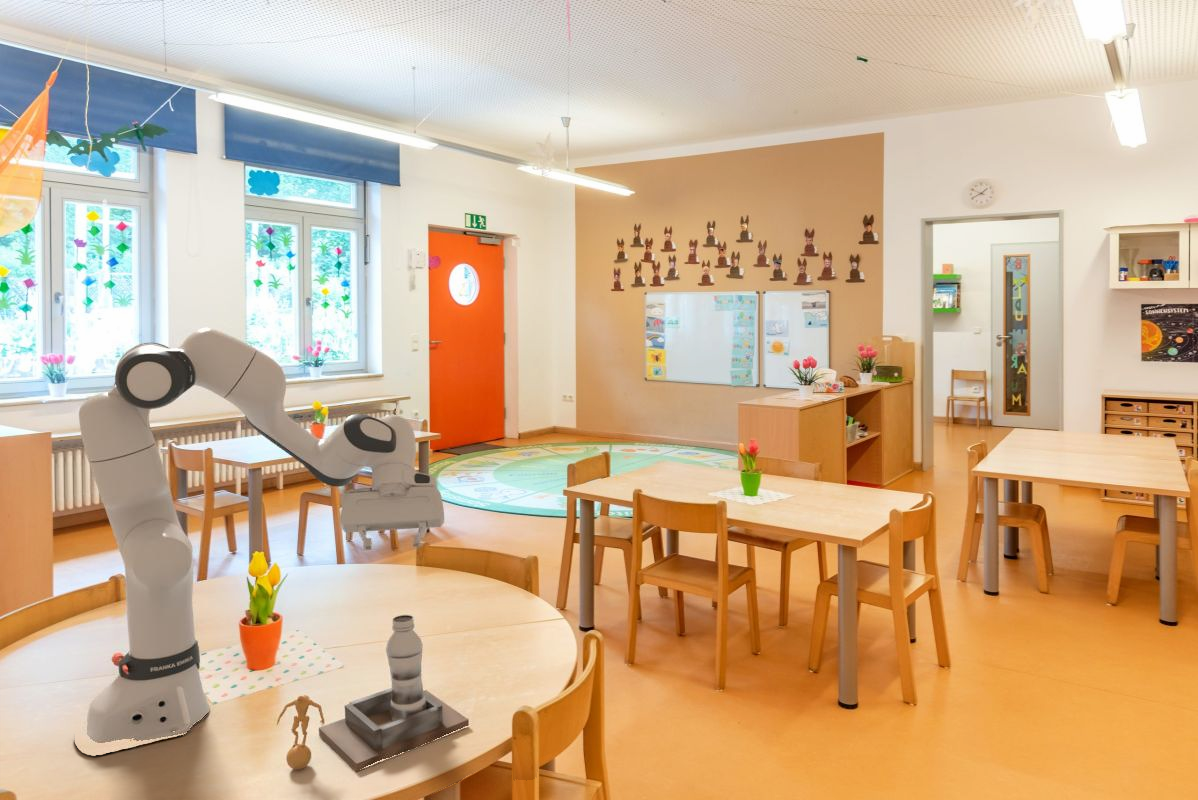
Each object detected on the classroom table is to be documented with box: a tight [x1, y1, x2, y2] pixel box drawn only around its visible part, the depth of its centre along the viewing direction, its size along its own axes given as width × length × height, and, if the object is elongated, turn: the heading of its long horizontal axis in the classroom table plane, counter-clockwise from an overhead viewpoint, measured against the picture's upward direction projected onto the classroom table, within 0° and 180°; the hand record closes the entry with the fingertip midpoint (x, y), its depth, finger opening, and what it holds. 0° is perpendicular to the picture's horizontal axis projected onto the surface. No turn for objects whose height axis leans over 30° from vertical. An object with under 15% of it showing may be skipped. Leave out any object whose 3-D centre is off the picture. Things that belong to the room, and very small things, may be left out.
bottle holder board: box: [318, 687, 470, 772], centre depth 153 cm, size 22×16×5 cm
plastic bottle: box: [385, 614, 427, 722], centre depth 152 cm, size 6×7×20 cm
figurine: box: [276, 694, 325, 770], centre depth 142 cm, size 8×6×12 cm
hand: (392, 547), depth 161 cm, fingers open, 8 cm apart
